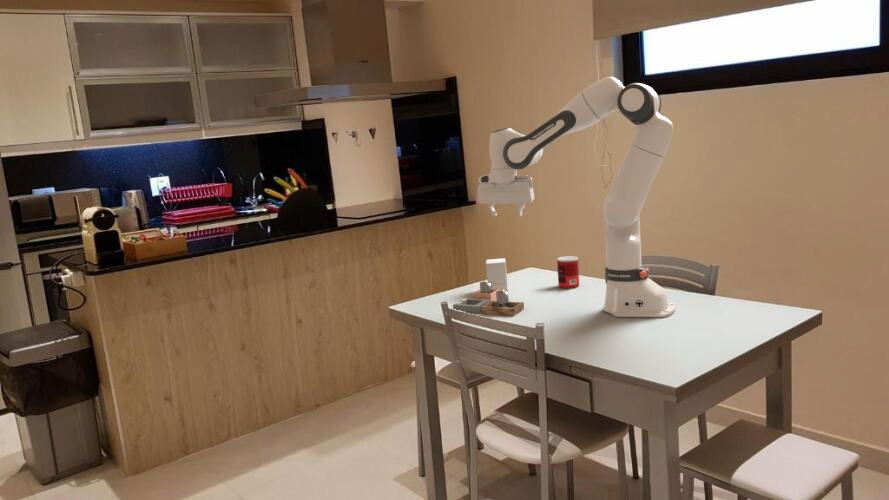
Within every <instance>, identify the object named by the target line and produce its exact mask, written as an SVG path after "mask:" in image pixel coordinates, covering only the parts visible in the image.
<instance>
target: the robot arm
mask: <svg viewBox="0 0 889 500" xmlns="http://www.w3.org/2000/svg"><path fill="white" fill-rule="evenodd" d="M661 108H662V99H661V97H660V96H659V94H658V93H657V92H656V91H655V90H654V89H653V87H651V86H649V85H646V84H644V83H640V82H633V83H630V84H627V85H626V86H624V85H623V83H622V82H621V81H620V80H619V79H618V78H617V77H613V76H607V77H603V78H602V79H600V80H597V81H596V82H594V83H592V84H591V85H589V86H588V87H586V88H585V89H583V90H581V92H579V93H578V94H577V95H575V96H574V97H573V98H572V99H570V100H569V102H567V103H566V104H565V106H563V107H562V108H561V109H560V110H559V111H558V112H557V113H556V114H555V115H554V116H553V117H551V118H550V119H549V120H547V121H546V122H544V123H543V124H541V125H540V126H538V127H537V128H535V129H534V130H533V131H531V132H530V133H528V134H526V135H525V134H522V133H519V132H517V131H516V130H514V129H513V128H511V127H505V128H501V129H497V130H494V131H492V132H491V134H490V136H489V147H488V148H489V149H488V150H489V158H490V160H491V164H490V172H489V173H486V174H484V175H480V176H479V177H478V179H477V181H478V183H479V184H478V186H477V202H478V203H479V204H481V205H485V204H486V205H487V207H488V209H489V211H490V212H491V217H497V216H498V210H495V208H494V206H495V205H496V204H498V205H499V204H518V207H519V209H518V210H516V217H522V216H523V210H524V208H525V206H526V204H530V203H533V202H534V200H535V192H534V187H533V186H534V180H533V178H532V177H531V176H529V175H518V170H523V169H525V168H527V167H529V166H532V165H534V164H536V163H538V162H539V161H540V160H541V159H542V158H543V155H544V148H546V147H547V146H549V145H550V144H551V143H553V142H554V141H556V140H557V139H559V138H561V137H563V136H565V135H568V134H571V133H574V132H575V133H576V132H579V131H582V130H585V129H587V128H590V127H592V126H594V125H595V124H597V123H599V122H600V121H602V120H603V119H604V118H607V116H609V115H611V114H612V113H614V112H620V113H621V114H622V116H624V117H625V118H626V119H627V120H629V121H630V122H631V123H632V124H633V125H635V127H636V129H635V134H634V135H633V139H632V140H631V142H630V144H629V147H628V149H627V151H626V154H625V155H624V159H622V162H621V165H620V167H619V170H618V171H617V174H616V177H615V179H614V181H613V184H612V186H611V188H610V190H609V193H608V194H607V196H606V198H605V200H604V203H603V207H602V212H603V213H602V214H603V217H604V235H605V236H604V239H605V240H604V241H605V242H604V243H605V244H604V246H605V264H606V266H605V267H604V279H605V280H604V281H605V284H606V287H605V288H606V291H605V297H604V304H603V306H602V307H603V308H602V309H603V311H604V312H606V313H609V314H611V315H612V316H614V317H618V318H664V317H665V318H666V317H669V316H670V315H672V314H673V313H674V312H676V304H675V303H673V302H669V299H668V295H667V292H666V289H664V288H663V286H661V285H659V284H658V283H656V282H655V281H653V280H652V279H651V278H649V267H647V268H646V267H644V265H642V245H641V243H642V240H641V220H640V219H641V218H640V217H641V216H640V214H641V211H642V209H643V207H644V204H645V202H646V200H647V198H648V195H649V193H650V190H651V188H652V185H653V183H654V181H655V179H656V176H657V174H658V172H659V170H660V168H661V166H662V164H663V161H664V158H665V157H666V155H667V152H668V150H669V147H670V144H671V141H672V138H673V133H674V130H675V129H674V125H673V122H672V121H671V120H669V118H667V117H665V116H663V115H661V114H660V112H661Z"/></svg>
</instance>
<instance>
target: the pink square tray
mask: <svg viewBox="0 0 889 500" xmlns="http://www.w3.org/2000/svg"><path fill="white" fill-rule="evenodd" d="M491 290H492V293H490V294H485V293H480V288H479V289H478V290H476V291H474V292H472V299H490V301H497V298H496V291H499V289H491Z"/></svg>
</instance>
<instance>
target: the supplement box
mask: <svg viewBox="0 0 889 500" xmlns="http://www.w3.org/2000/svg"><path fill="white" fill-rule="evenodd" d="M485 267H486V268H485V269H486V276H487V277H486V279H487V280H486V281H490V282H491V289H499V290H501V289H504V290H507V291H508V292H509V286H508V273H507V264H506V258H505V257H504V258H493V259H491V258H489V259H486V260H485Z"/></svg>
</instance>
